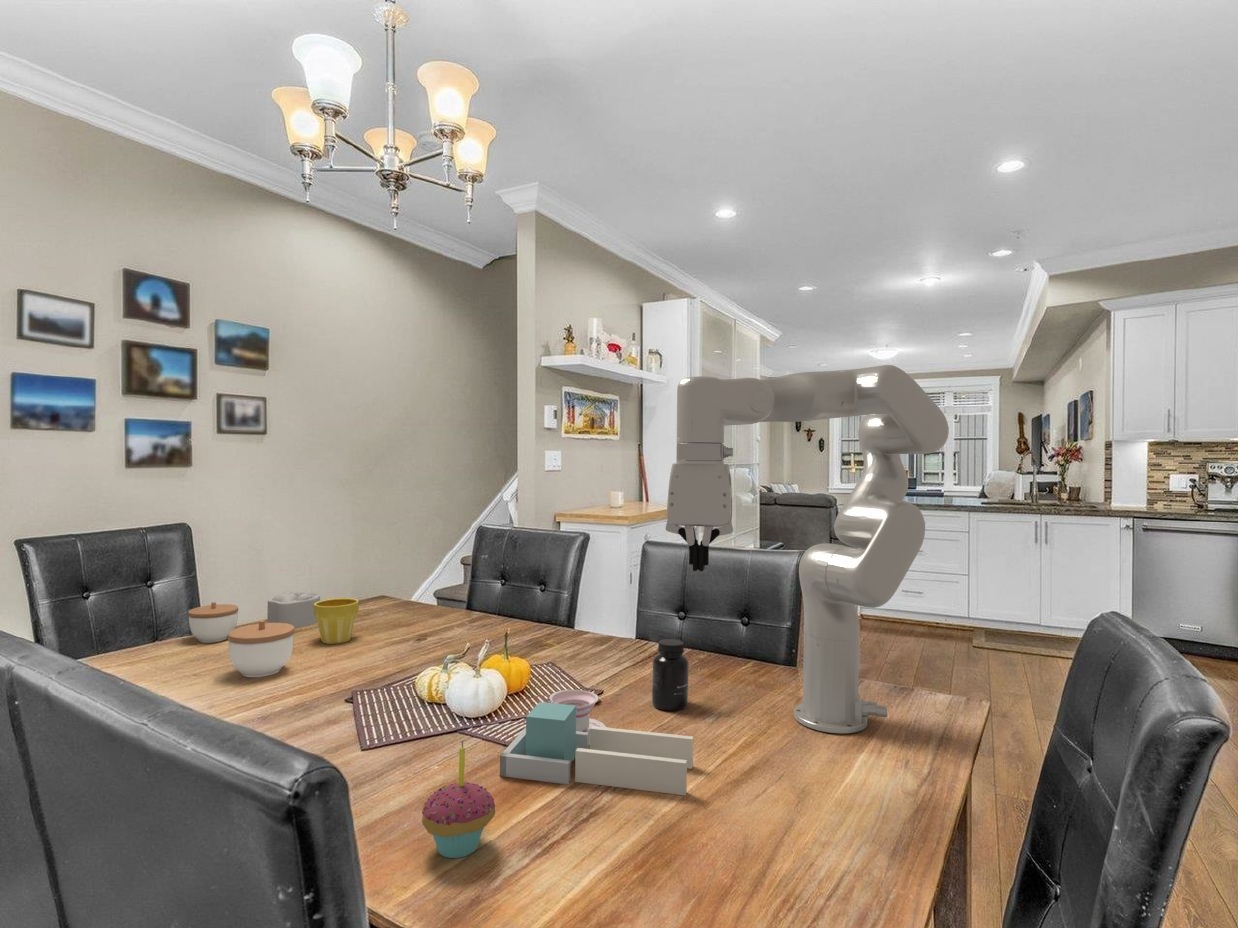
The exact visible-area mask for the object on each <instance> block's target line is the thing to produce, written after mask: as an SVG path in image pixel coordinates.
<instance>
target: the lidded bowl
mask: <svg viewBox="0 0 1238 928" xmlns="http://www.w3.org/2000/svg"><path fill="white" fill-rule="evenodd" d="M295 630H296V629H295V628H294V626H293V625H291V624H287V623H267V622H266V620H264V619H263V620H258V623H256V624H254V623H253V624H247V625H244V626H240V627H237V628H236V627H235V629H234V630H232V631H230V632H229V633H228V638H227V640H228V654H229V658H230V662H231V663H232V665H233V667H234V668H235V669H236V670H237V671H238V672H239V673H241V674H242V676H243V677H245V678H251V679H252V678H263V677H264V678H265V677H269V676H272V675H276V674H277V673H279V672H280V671H281V669H282V668H283V667H284V666H285V665H286V664H287V662H288V661H289V660H290V658H291V655H292V653H293V649H294V643H295V642H294V640H295V635H294V634H295Z"/></svg>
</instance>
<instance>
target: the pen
mask: <svg viewBox="0 0 1238 928" xmlns="http://www.w3.org/2000/svg"><path fill="white" fill-rule="evenodd" d="M577 748H583V749H590V746H589V732H586V731H584V732H580V731H576V749H577ZM499 777H506V778H514V779H522V780H529V781H530V780H531V781H538V782H545V783H554V784H562V785H569V784H570V782H571V765H570V760H561V759H553V758H544V757H536V756H527V755H526V726H525V727H524V728H523V729H522V731H520V732H519V734H518V735H517V736H516V737H515V738H514V739H513V741H512V742H511V743H510V744H509V745H508V746H507V747H506V748H505V749H504V751H503V752H501V754H499Z"/></svg>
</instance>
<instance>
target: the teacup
mask: <svg viewBox="0 0 1238 928" xmlns="http://www.w3.org/2000/svg"><path fill="white" fill-rule="evenodd" d="M546 700H547V703H555V704H566V705H576V731H580V732H589V747H590V728H591V727H592V726H596V727H606V728H608V726H606V725H605V724H604V722H601V721H599V720H596V719H595V718H590V716H591V715H590V714H591V712H592V711H593V707H594V706H595V705H596V703H597V702H598V701H599V696H598V694H596V693H594V692H591V691H589V690H582V689H563V690H558V691H554V692H553V693H551V694H550V695H549V697H547V698H546Z"/></svg>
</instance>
